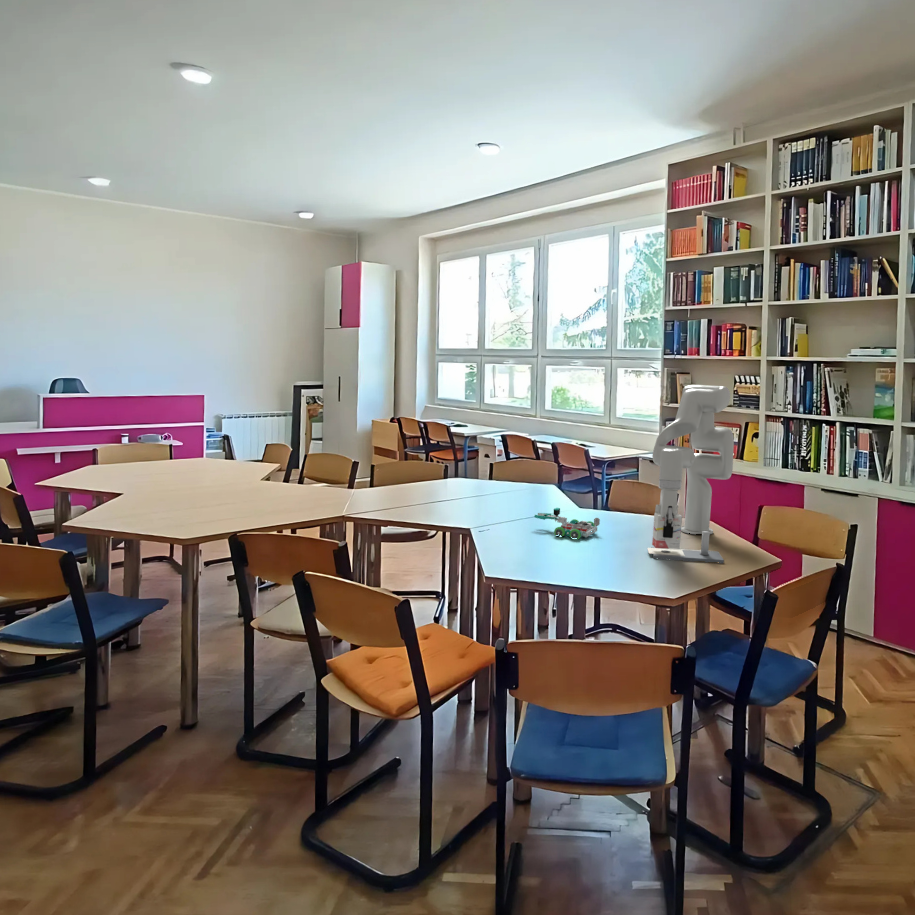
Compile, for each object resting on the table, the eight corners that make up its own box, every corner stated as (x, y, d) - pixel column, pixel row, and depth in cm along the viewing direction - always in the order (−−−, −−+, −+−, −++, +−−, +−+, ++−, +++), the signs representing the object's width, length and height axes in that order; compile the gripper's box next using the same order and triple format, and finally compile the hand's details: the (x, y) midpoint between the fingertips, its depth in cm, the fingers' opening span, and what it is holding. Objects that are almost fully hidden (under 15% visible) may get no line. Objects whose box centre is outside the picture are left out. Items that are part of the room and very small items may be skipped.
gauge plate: (646, 549, 270) (648, 524, 268) (717, 554, 265) (719, 529, 264) (649, 558, 258) (650, 532, 257) (723, 563, 254) (725, 536, 253)
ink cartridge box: (655, 548, 260) (658, 506, 258) (651, 545, 265) (654, 504, 263) (680, 549, 260) (683, 507, 258) (675, 545, 265) (678, 504, 263)
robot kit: (543, 525, 308) (544, 502, 306) (602, 533, 296) (603, 509, 294) (524, 533, 292) (525, 510, 290) (586, 542, 279) (587, 517, 278)
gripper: (656, 480, 269) (653, 529, 271) (661, 487, 252) (657, 540, 254) (678, 481, 267) (675, 530, 270) (684, 489, 250) (680, 542, 253)
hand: (666, 535), depth 262 cm, fingers closed on ink cartridge box, 5 cm apart
